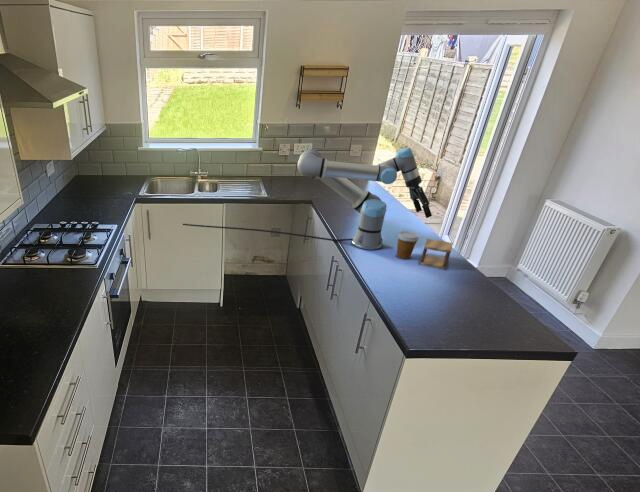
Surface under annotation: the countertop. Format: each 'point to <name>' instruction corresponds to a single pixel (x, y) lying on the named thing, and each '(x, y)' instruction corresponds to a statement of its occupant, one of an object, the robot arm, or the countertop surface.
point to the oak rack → (434, 260)
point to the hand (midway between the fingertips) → (424, 214)
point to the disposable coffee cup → (406, 244)
